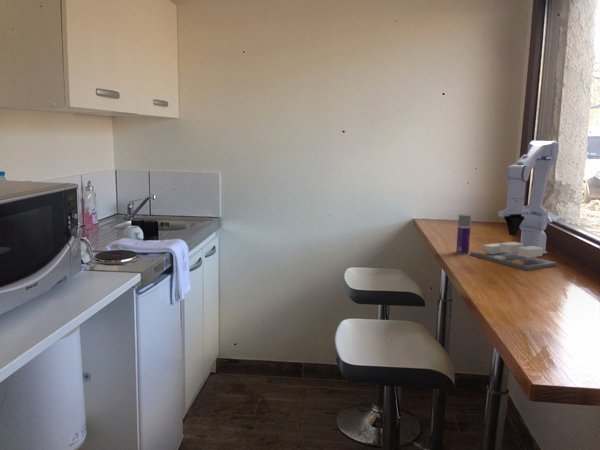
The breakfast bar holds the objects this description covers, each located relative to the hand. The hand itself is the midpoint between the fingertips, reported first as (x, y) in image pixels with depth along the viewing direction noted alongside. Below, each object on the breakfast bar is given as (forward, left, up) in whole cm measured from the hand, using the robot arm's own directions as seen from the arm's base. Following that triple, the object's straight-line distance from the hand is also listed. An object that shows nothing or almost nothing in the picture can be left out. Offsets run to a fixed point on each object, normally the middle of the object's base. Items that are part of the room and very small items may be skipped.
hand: (512, 235), depth 194 cm
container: (+7, -17, -10) cm, 21 cm away
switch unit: (-1, 0, -10) cm, 10 cm away
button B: (0, 0, -6) cm, 6 cm away
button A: (0, -8, -8) cm, 11 cm away
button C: (0, +8, -6) cm, 10 cm away
